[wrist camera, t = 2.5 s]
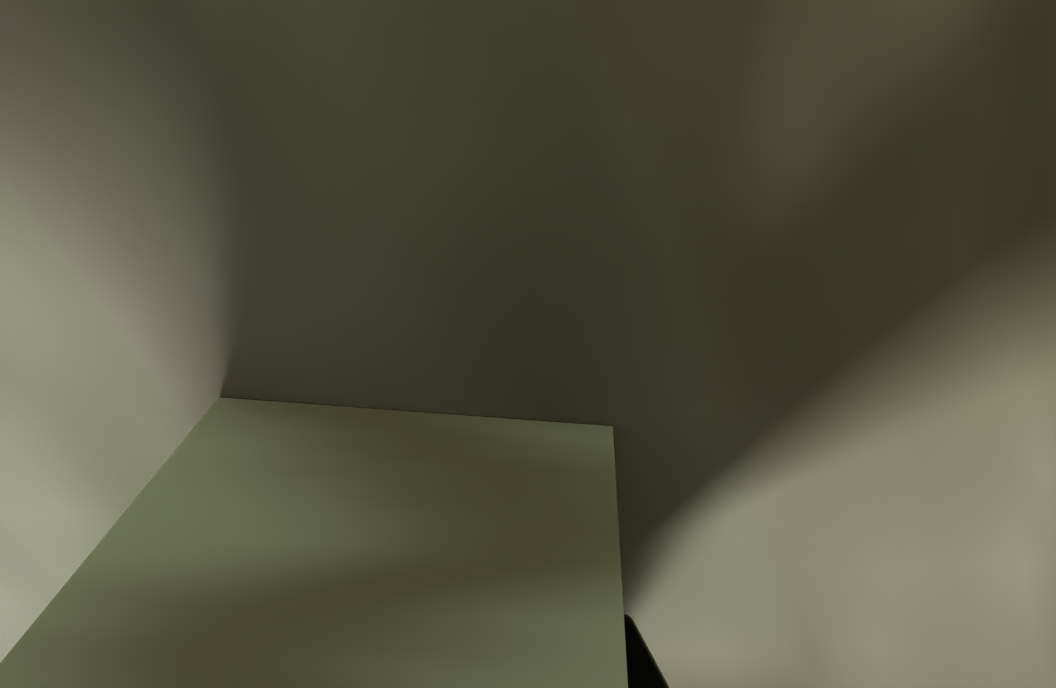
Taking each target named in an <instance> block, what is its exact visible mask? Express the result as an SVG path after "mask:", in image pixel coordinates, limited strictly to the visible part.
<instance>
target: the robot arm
mask: <svg viewBox="0 0 1056 688" xmlns="http://www.w3.org/2000/svg"><path fill="white" fill-rule="evenodd" d="M624 626H625V643H626V660H627V677H628V688H669V686H668V684H667V682H666V680H665V678H664V677H663V675H662V673H661V671H660V669H659V667H658V665H657V664H656V662H655V660H654V658H653V656H652V654H651V653H650V651H649V649H648V647H647V645H646V643H645V641H644V640H643V638H642V636H641V634H640V632H639V630H638V628H637V627H636V625H635V623H634V621H633V620H632V618H631V617H630V616H628V615H626V614H624Z"/></svg>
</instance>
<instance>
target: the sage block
mask: <svg viewBox="0 0 1056 688" xmlns="http://www.w3.org/2000/svg"><path fill="white" fill-rule="evenodd" d="M0 688H628V677H627V660H626V643H625V626H624V609H623V592H622V575H621V558H620V541H619V524H618V507H617V489H616V472H615V455H614V438H613V426H602V425H588V424H575V423H561V422H547V421H534V420H520V419H506V418H493V417H479V416H466V415H452V414H438V413H425V412H411V411H397V410H384V409H370V408H356V407H343V406H329V405H316V404H302V403H288V402H275V401H261V400H247V399H234V398H220V397H219V398H218V399H217V400H216V402H215V403H214V404H213V405H212V406H211V408H210V409H209V410H208V411H207V413H206V414H205V415H204V416H203V417H202V419H201V420H200V421H199V422H198V423H197V425H196V426H195V427H194V428H193V430H192V431H191V432H190V433H189V434H188V436H187V437H186V438H185V439H184V441H183V442H182V443H181V444H180V445H179V447H178V448H177V449H176V450H175V451H174V453H173V454H172V455H171V456H170V458H169V459H168V460H167V461H166V462H165V464H164V465H163V466H162V467H161V468H160V470H159V471H158V472H157V473H156V475H155V476H154V477H153V478H152V479H151V481H150V482H149V483H148V484H147V486H146V487H145V488H144V489H143V490H142V492H141V493H140V494H139V495H138V496H137V498H136V499H135V500H134V501H133V503H132V504H131V505H130V506H129V507H128V509H127V510H126V511H125V512H124V513H123V515H122V516H121V517H120V518H119V520H118V521H117V522H116V523H115V524H114V526H113V527H112V528H111V529H110V531H109V532H108V533H107V534H106V535H105V537H104V538H103V539H102V540H101V541H100V543H99V544H98V545H97V546H96V548H95V549H94V550H93V551H92V552H91V554H90V555H89V556H88V557H87V558H86V560H85V561H84V562H83V563H82V565H81V566H80V567H79V568H78V569H77V571H76V572H75V573H74V574H73V575H72V577H71V578H70V579H69V580H68V582H67V583H66V584H65V585H64V586H63V588H62V589H61V590H60V591H59V593H58V594H57V595H56V596H55V597H54V599H53V600H52V601H51V602H50V603H49V605H48V606H47V607H46V608H45V610H44V611H43V612H42V613H41V614H40V616H39V617H38V618H37V619H36V620H35V622H34V623H33V624H32V625H31V627H30V628H29V629H28V630H27V631H26V633H25V634H24V635H23V636H22V638H21V639H20V640H19V641H18V642H17V644H16V645H15V646H14V647H13V648H12V650H11V651H10V652H9V653H8V655H7V656H6V657H5V658H4V659H3V661H2V662H1V663H0Z"/></svg>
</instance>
